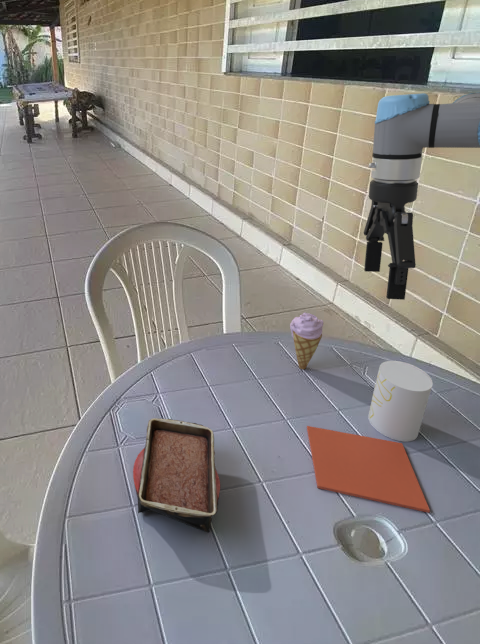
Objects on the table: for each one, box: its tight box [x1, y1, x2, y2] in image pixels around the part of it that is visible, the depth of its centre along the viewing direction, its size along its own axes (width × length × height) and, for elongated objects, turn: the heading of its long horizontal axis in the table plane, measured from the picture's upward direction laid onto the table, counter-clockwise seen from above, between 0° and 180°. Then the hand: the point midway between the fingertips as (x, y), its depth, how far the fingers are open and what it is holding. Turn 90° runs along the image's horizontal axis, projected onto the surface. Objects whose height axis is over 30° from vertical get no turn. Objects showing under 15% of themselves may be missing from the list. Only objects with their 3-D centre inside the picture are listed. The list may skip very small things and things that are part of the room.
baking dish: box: [132, 417, 221, 534], centre depth 71 cm, size 14×18×10 cm
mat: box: [306, 425, 431, 514], centre depth 75 cm, size 16×13×1 cm
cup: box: [367, 360, 434, 443], centre depth 81 cm, size 8×8×12 cm
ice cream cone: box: [289, 311, 324, 370], centre depth 96 cm, size 7×6×15 cm
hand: (382, 283), depth 85 cm, fingers open, 13 cm apart
